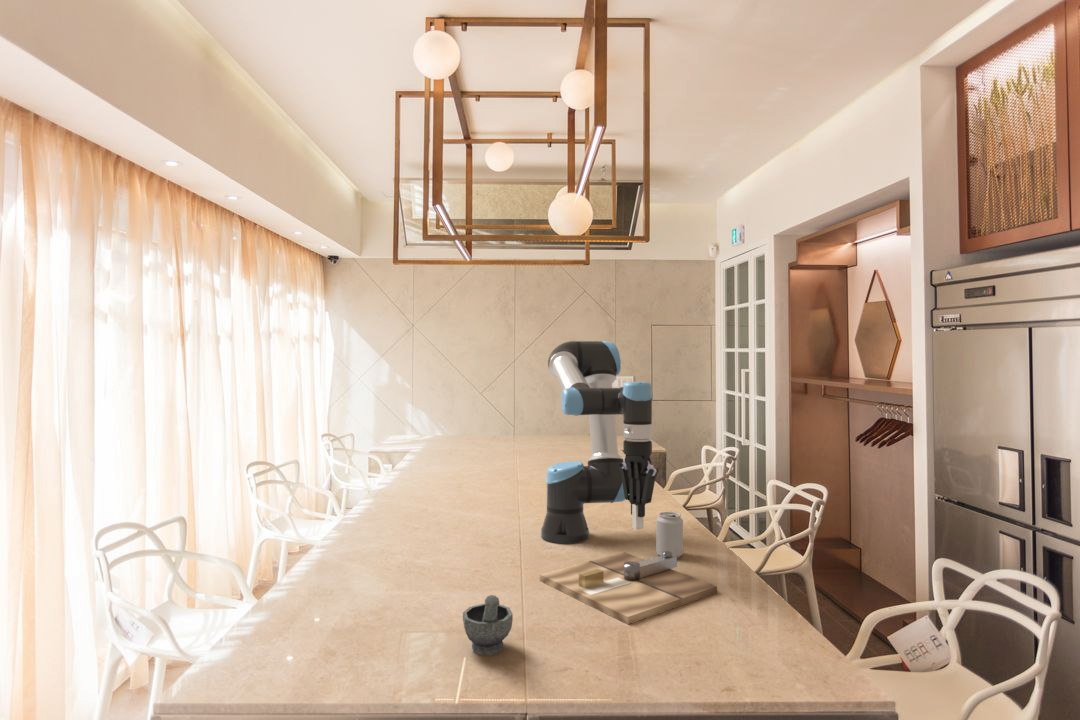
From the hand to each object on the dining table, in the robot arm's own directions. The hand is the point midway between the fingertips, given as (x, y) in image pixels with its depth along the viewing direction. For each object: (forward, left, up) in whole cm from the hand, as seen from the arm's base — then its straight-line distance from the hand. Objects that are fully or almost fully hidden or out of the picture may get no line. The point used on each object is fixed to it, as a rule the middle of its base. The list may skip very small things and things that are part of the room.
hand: (637, 528), depth 164 cm
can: (-4, +17, -12) cm, 21 cm away
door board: (+6, -10, -12) cm, 16 cm away
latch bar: (+6, -1, -10) cm, 11 cm away
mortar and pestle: (+14, -55, -12) cm, 58 cm away
